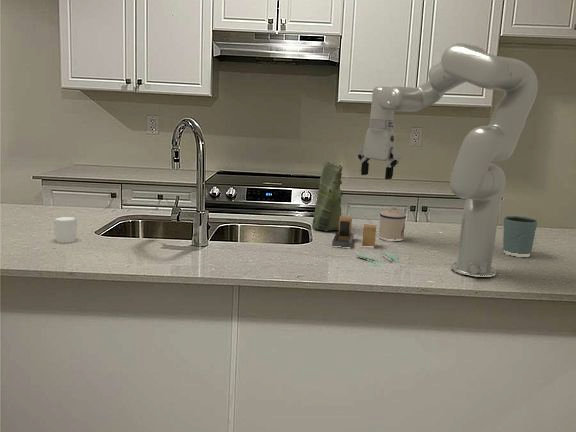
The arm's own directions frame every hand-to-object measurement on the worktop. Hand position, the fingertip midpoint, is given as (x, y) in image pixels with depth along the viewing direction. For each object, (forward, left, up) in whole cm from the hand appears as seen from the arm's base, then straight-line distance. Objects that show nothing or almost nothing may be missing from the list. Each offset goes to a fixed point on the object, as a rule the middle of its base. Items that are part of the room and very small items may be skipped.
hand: (376, 176), depth 188 cm
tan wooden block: (-7, 0, -22) cm, 24 cm away
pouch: (+12, +16, -23) cm, 30 cm away
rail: (-6, +9, -22) cm, 25 cm away
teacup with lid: (+8, -7, -23) cm, 25 cm away
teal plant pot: (+1, -48, -23) cm, 53 cm away
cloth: (-22, -5, -23) cm, 32 cm away
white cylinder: (-35, +92, -23) cm, 102 cm away
